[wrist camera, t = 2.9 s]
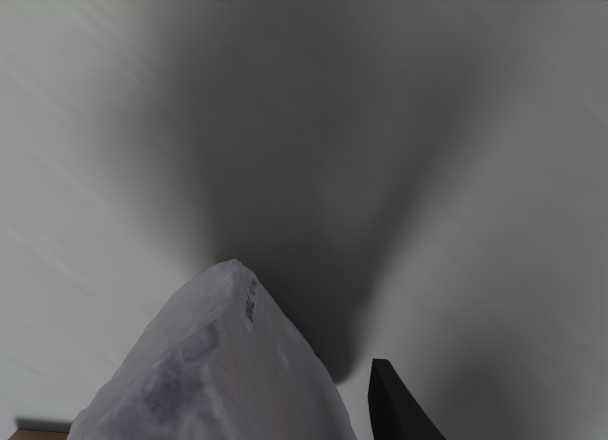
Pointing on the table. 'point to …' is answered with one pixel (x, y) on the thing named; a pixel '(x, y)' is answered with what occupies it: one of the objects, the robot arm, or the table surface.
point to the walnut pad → (37, 435)
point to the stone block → (218, 372)
